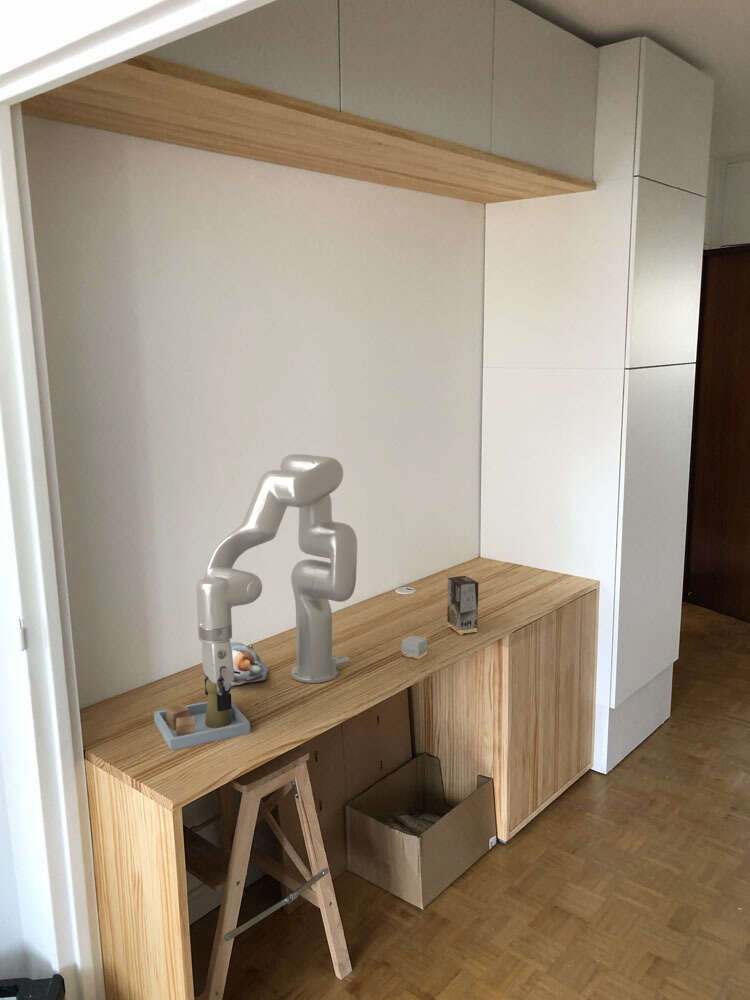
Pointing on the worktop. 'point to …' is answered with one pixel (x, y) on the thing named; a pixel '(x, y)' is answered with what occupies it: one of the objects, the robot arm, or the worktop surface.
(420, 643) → the small box
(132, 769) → the worktop surface
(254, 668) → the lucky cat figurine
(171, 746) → the tray
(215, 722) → the cork
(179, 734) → the walnut block
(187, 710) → the walnut block
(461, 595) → the coffee box
